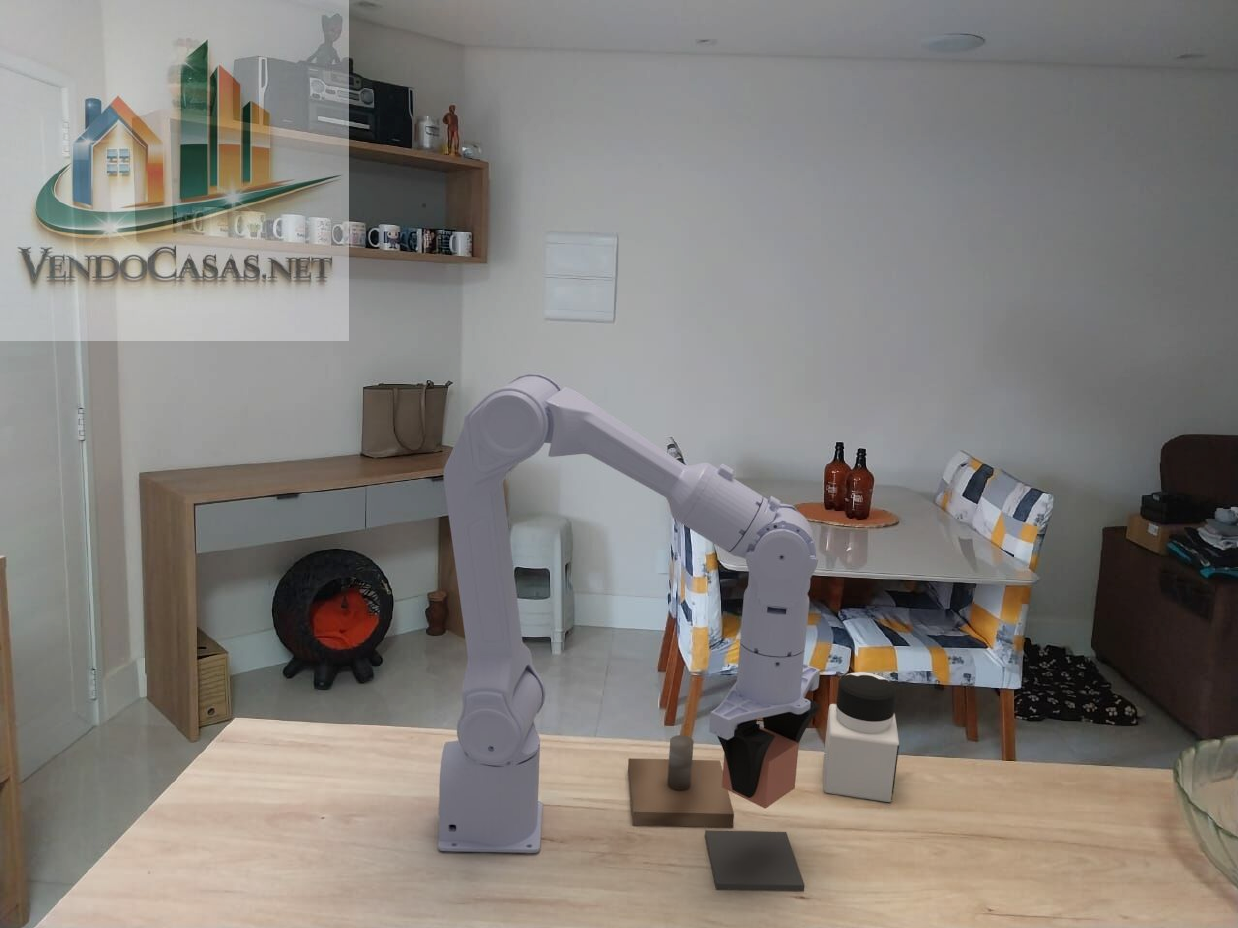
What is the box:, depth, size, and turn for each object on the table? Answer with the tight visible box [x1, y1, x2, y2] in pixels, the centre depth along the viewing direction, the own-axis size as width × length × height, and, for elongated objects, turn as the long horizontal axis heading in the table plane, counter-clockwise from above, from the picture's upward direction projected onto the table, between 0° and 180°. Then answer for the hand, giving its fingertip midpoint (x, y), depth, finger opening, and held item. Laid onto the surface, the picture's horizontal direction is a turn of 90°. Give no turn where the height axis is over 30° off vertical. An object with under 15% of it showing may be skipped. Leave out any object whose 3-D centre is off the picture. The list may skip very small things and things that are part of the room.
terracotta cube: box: [722, 725, 800, 810], centre depth 89 cm, size 5×5×5 cm
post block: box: [627, 734, 735, 828], centre depth 100 cm, size 10×10×6 cm
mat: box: [704, 829, 805, 892], centre depth 91 cm, size 8×8×1 cm
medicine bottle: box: [823, 671, 900, 803], centre depth 105 cm, size 7×7×12 cm
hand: (760, 781), depth 89 cm, fingers closed on terracotta cube, 5 cm apart
